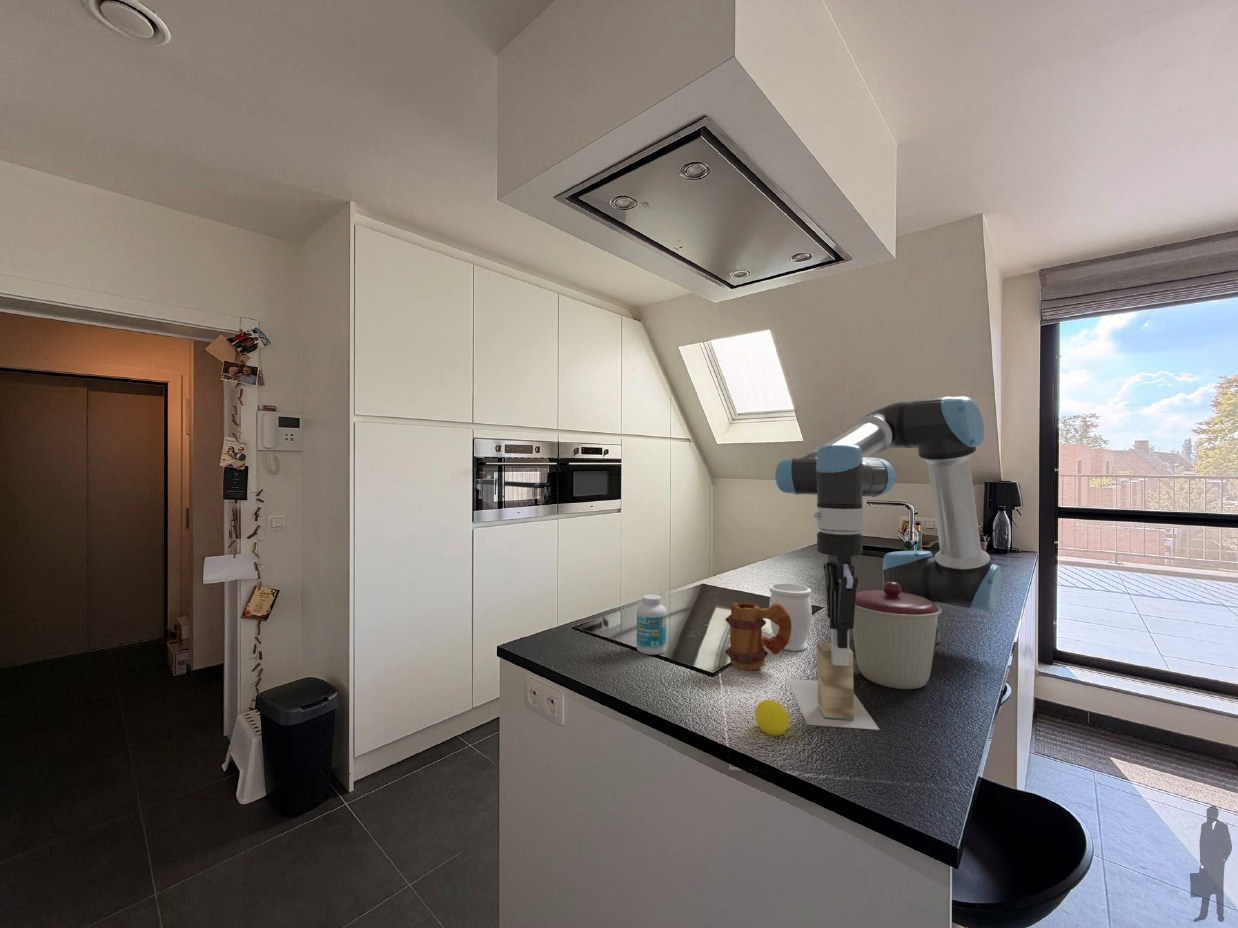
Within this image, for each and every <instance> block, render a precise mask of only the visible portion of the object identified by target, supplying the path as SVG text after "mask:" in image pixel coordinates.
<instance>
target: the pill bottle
mask: <svg viewBox="0 0 1238 928" xmlns="http://www.w3.org/2000/svg"><path fill="white" fill-rule="evenodd" d="M641 601H642V604H640V605H638V607H637V609H636V649H637V652H639V653H641V654H644V655H647V656H648V655H650V656H655V655H656V656H657V655H661V654H663V653H664V652H665V651H666V648H667V608H666V607H665V606H664V605H663V604H661V602H662V596H661V595H658V594H645V595H642V599H641Z"/></svg>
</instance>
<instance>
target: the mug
mask: <svg viewBox="0 0 1238 928" xmlns="http://www.w3.org/2000/svg"><path fill="white" fill-rule="evenodd" d="M765 619H768V620H769V621H770V622H771V621H772V622H774V623H775V624H777V625H778V626H779V632H778V634H777V635H776V637H775V636H774V637H773V638H769V637H767V636H764V635H763V634H762V633H763V630H762V629H763V627H764V626H765V625H766V624H767V622H766V620H765ZM725 621H726V623H728V625H729V626H730V629H729V630H730V631H729V634H730V635H729V637H730V639H729V641H730V644H729V646H728V648H726V649H725V651H724V653H725V654H726V655H727V656H728V657H729V659H730V661H729V662H730V664H731V665H732V666H733V667H734V668H736V669H739V670H740V671H741V670H742V671H756V670H758V669H761V668H763V667H764V666H765V664H766V662H765V660H766V657H767V656H768V654H769V652H768V651H766V650H765V649H767V650H769V651H770V652H771V653H772V654H774V655H778V654H780V653H781V652H782V651H784V648H785V646H786V645H787V644H788V642H789V639H790V635H791V627H792V624H791V618H790V616H789V614H788V612H787V611H786V609H785V608H784V607H783V606H782V605H781V604H778V603H775V604H773V605H771V606H770V607H769V606H768V607H766V608H762V607H760V606H759V605H758V604H757V603H753V602H752V603H749V602H733V603H732V604H731V610H730V615H728V617H726V618H725Z"/></svg>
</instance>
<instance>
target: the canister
mask: <svg viewBox="0 0 1238 928" xmlns="http://www.w3.org/2000/svg"><path fill="white" fill-rule="evenodd" d="M883 590H884V591H883ZM942 610H943V609H942V607H940V606H939V604H937V603H933V602H932V601H930V600H928V599H926V598H924V597H921V596H917V595H913V594H908V593H903V592H901V586H900V585H899V584H898V583H896V582H886V583H885V584H884V585H883V584H882V590H873V589H872V590H862V591H859V592H856V599H855V613H854V627H853V629H852V635H853V637H852V638H853V643H854V650H855V651H854V652H855V657H856V664H857V668H858V669H859V671H860V673H861V674H862V676H863V677H864V678H865V679H867V680H868V681H871V682H872V683H874V684H876V685H880V686H883V687H887V688H890V689H891V688H893V689H898V690H914V689H916V690H917V689H920V688H923V687H924V686H925V685H926V684H927V683H928V681H929V679H930V676H931V672H932V667H933V665H932V664H933V658H934V652H935V645H936V644H935V636H936V628H937V625H938V616H939V615H941V613H942Z"/></svg>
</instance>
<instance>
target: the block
mask: <svg viewBox="0 0 1238 928" xmlns="http://www.w3.org/2000/svg"><path fill="white" fill-rule="evenodd" d="M816 647H817V681H818V707H819V709H820V711H821V713H822V715H823V716H824V718H828V719H842V720H854V694H855V691H854V689H855V688H854V652H853V650H852V649H851V648H850V647H849V662H850V666H840V665H833V664H832V662H831V642H818V641H817V646H816Z"/></svg>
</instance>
